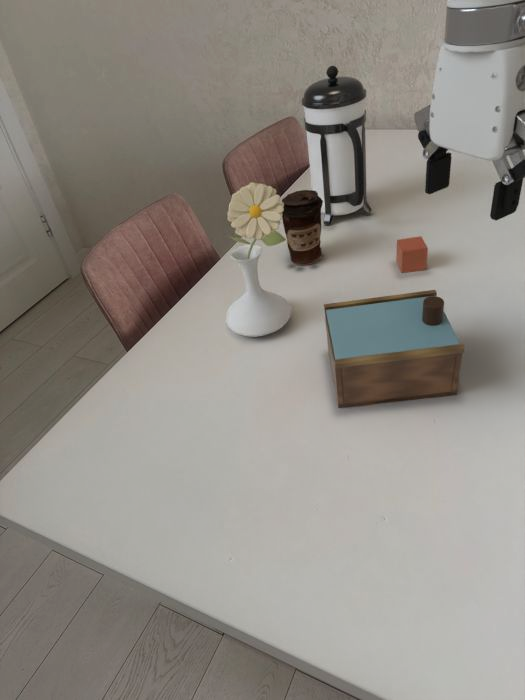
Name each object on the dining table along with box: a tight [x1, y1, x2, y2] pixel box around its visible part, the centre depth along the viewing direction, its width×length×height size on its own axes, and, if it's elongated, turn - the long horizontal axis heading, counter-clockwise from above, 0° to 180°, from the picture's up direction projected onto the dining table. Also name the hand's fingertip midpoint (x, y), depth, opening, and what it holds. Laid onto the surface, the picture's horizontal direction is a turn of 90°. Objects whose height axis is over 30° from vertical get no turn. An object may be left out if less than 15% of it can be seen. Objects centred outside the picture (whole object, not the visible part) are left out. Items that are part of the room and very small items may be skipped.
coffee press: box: [301, 65, 373, 226], centre depth 104 cm, size 17×16×30 cm
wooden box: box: [323, 289, 466, 409], centre depth 70 cm, size 16×13×9 cm
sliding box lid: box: [326, 296, 461, 360], centre depth 66 cm, size 16×11×4 cm
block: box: [395, 236, 429, 274], centre depth 92 cm, size 4×4×4 cm
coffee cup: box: [281, 189, 323, 266], centre depth 97 cm, size 9×8×13 cm
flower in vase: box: [225, 181, 292, 338], centre depth 78 cm, size 13×11×25 cm
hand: (467, 202), depth 56 cm, fingers open, 9 cm apart
